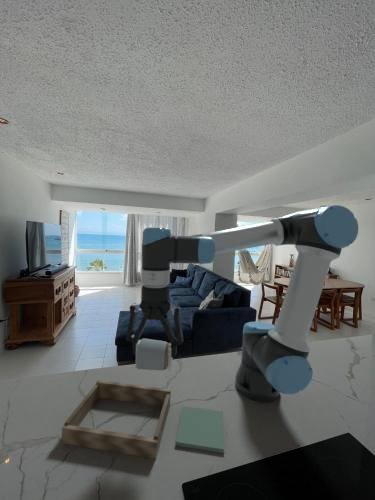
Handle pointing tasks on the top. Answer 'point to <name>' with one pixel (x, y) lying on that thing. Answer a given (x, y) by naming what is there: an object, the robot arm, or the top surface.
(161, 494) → the top surface
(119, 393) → the open wooden box frame
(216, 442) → the rubber mat
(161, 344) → the ceramic mug
